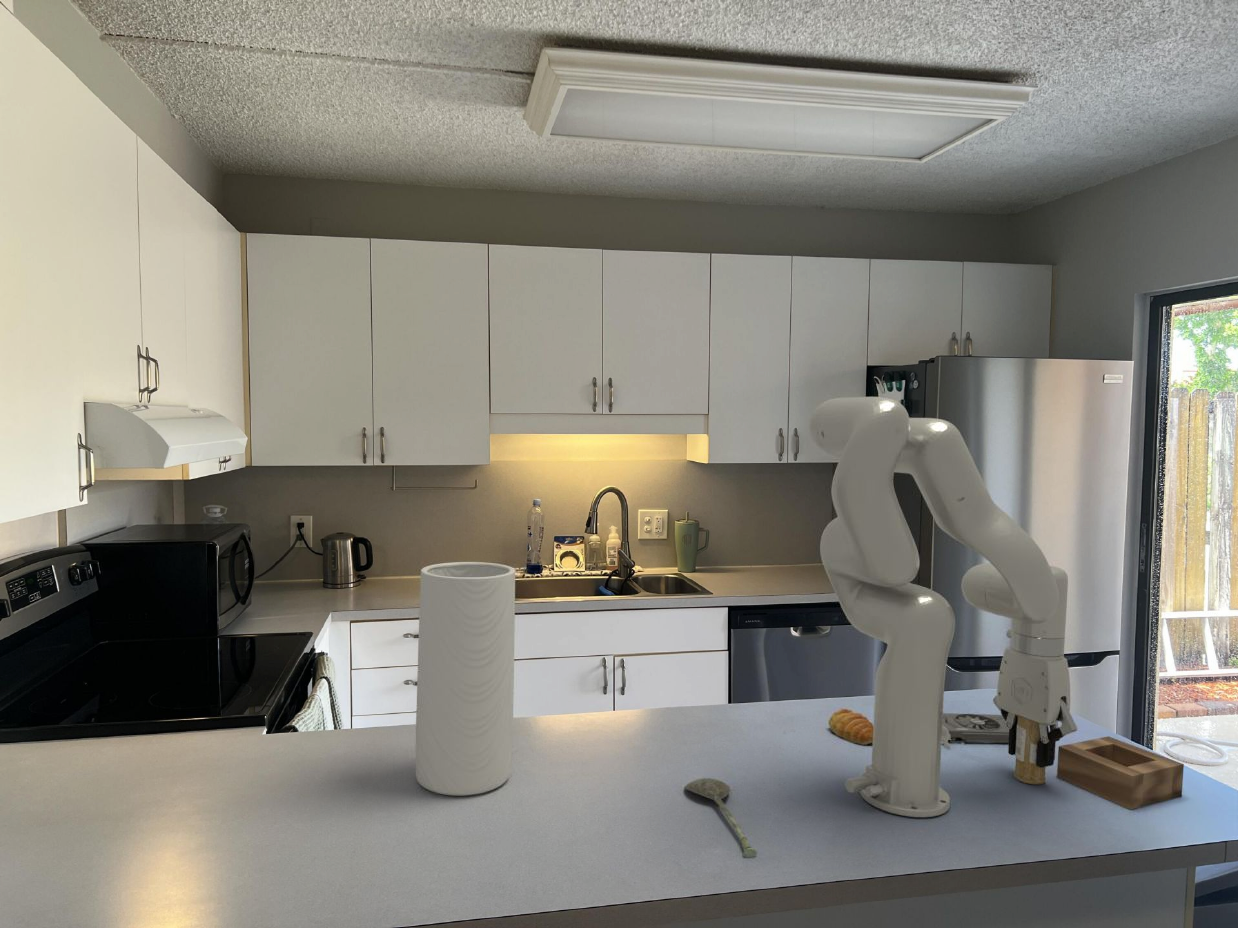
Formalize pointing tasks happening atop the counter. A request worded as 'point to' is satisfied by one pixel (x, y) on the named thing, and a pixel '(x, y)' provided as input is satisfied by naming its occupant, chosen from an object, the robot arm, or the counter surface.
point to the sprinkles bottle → (1028, 752)
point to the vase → (465, 677)
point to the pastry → (851, 726)
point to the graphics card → (974, 728)
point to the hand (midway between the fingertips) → (1030, 758)
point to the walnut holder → (1120, 772)
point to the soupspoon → (720, 805)
